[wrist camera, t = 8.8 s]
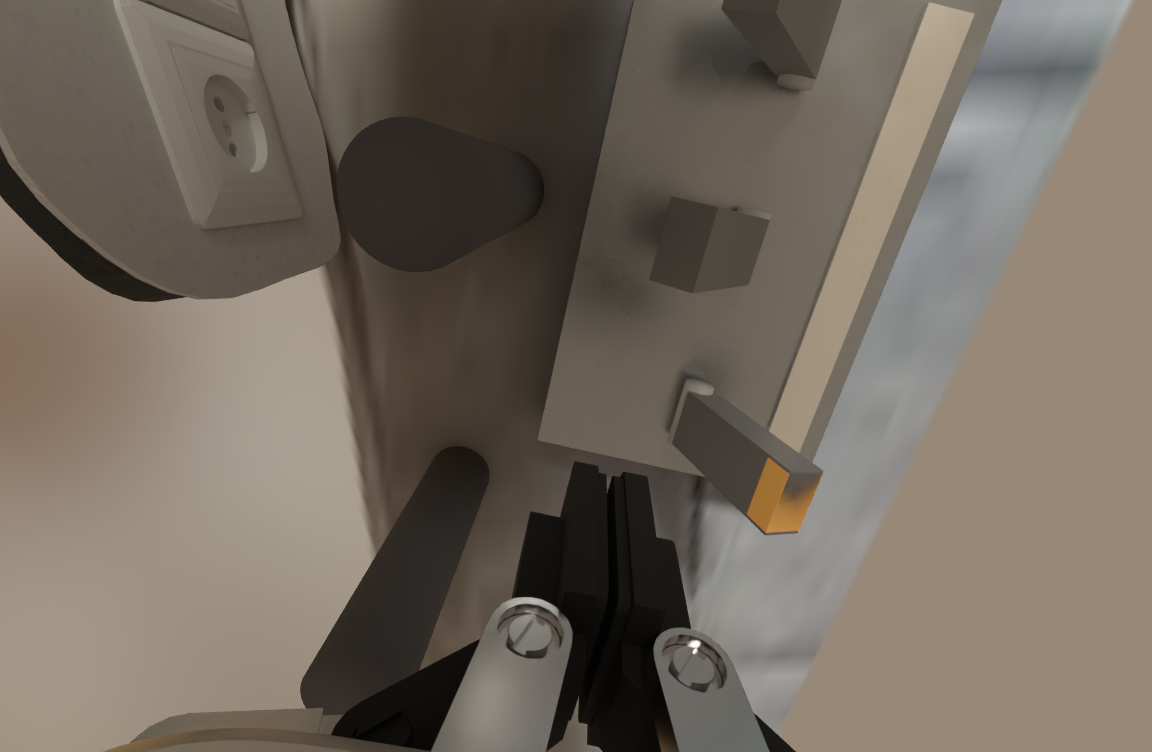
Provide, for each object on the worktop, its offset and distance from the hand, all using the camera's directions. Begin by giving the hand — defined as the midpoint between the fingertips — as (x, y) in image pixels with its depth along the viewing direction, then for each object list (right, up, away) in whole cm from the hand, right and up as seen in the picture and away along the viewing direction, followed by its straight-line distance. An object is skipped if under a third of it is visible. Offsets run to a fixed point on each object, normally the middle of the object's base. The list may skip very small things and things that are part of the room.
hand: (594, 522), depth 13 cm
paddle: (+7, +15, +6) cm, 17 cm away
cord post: (-6, -2, +16) cm, 17 cm away
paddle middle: (+6, +8, +8) cm, 13 cm away
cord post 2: (-3, +11, +11) cm, 16 cm away
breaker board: (+6, +9, +11) cm, 16 cm away
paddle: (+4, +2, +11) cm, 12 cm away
